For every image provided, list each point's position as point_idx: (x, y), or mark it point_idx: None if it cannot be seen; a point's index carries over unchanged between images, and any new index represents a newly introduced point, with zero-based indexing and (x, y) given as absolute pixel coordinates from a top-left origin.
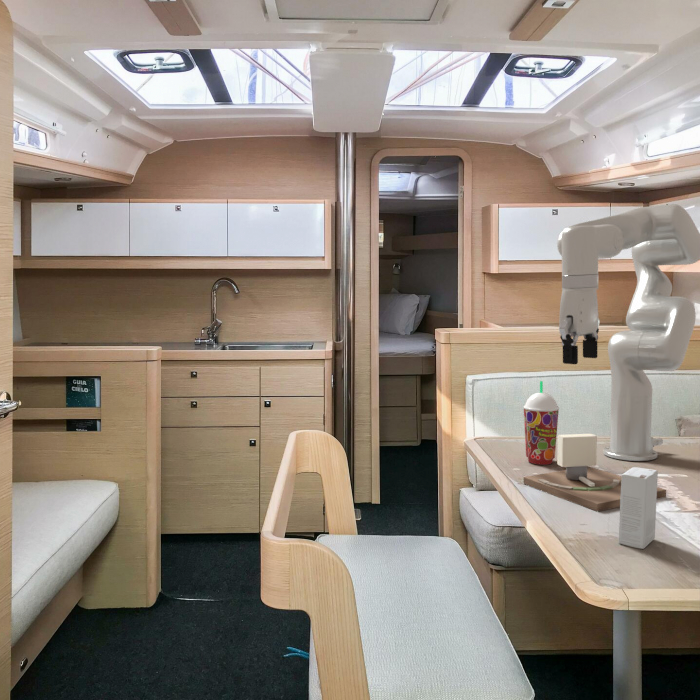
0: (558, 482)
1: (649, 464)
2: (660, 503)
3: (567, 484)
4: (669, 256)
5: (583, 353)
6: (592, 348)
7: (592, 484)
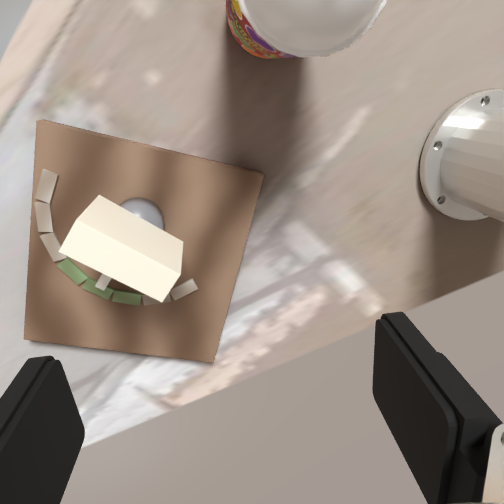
0: (77, 210)
1: (419, 227)
2: (170, 365)
3: None
4: None
5: (387, 337)
6: (403, 433)
7: (99, 287)
